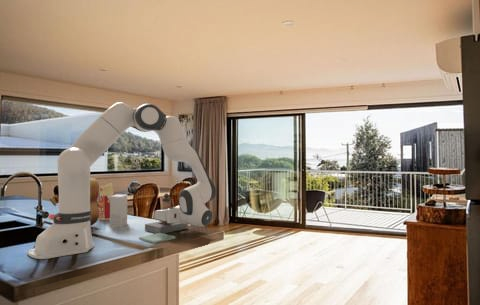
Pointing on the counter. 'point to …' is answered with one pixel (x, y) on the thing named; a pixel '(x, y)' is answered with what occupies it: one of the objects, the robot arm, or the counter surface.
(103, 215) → the milk carton
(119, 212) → the skincare box
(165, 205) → the pepper mill
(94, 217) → the butternut squash
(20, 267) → the counter surface
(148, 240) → the plate
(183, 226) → the holder
